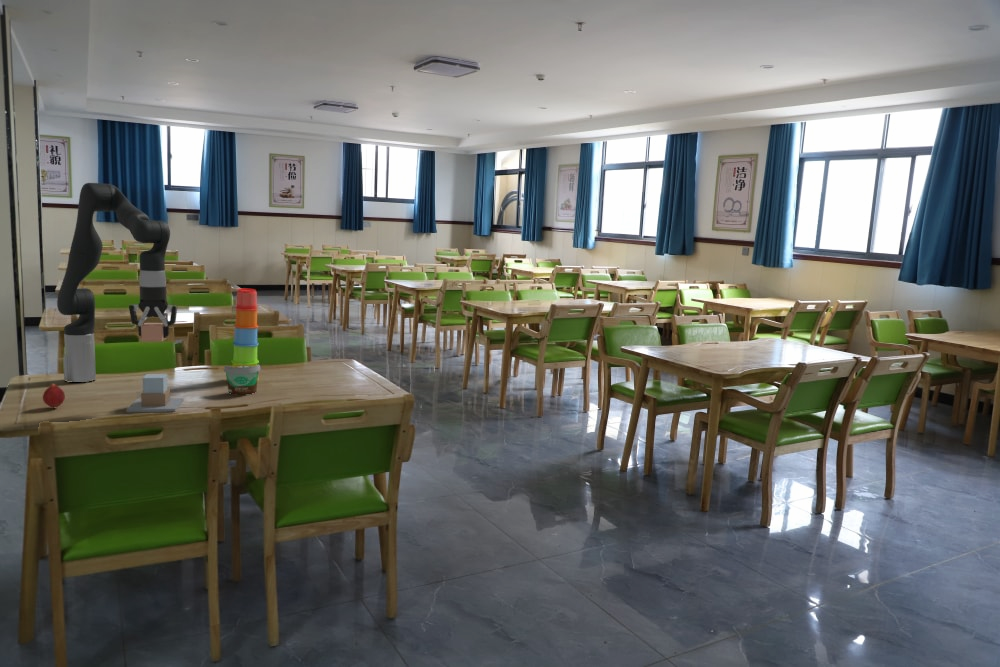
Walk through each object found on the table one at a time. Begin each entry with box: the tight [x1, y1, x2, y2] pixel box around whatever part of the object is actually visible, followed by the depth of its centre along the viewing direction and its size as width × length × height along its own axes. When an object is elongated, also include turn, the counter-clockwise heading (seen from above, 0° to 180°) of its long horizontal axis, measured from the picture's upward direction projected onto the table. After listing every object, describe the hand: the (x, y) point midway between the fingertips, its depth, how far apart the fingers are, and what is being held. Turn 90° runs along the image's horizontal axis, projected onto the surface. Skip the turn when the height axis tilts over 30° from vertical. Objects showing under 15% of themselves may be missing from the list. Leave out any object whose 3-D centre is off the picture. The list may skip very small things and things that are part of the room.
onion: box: [42, 383, 66, 408], centre depth 227 cm, size 6×6×8 cm
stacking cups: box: [230, 287, 260, 381], centre depth 275 cm, size 10×10×35 cm
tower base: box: [126, 388, 185, 413], centre depth 235 cm, size 14×14×5 cm
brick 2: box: [142, 373, 168, 394], centre depth 234 cm, size 6×6×5 cm
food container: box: [223, 364, 261, 396], centre depth 256 cm, size 12×6×10 cm, turn 117°
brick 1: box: [140, 322, 167, 343], centre depth 232 cm, size 6×6×5 cm
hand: (154, 337), depth 232 cm, fingers closed on brick 1, 6 cm apart
